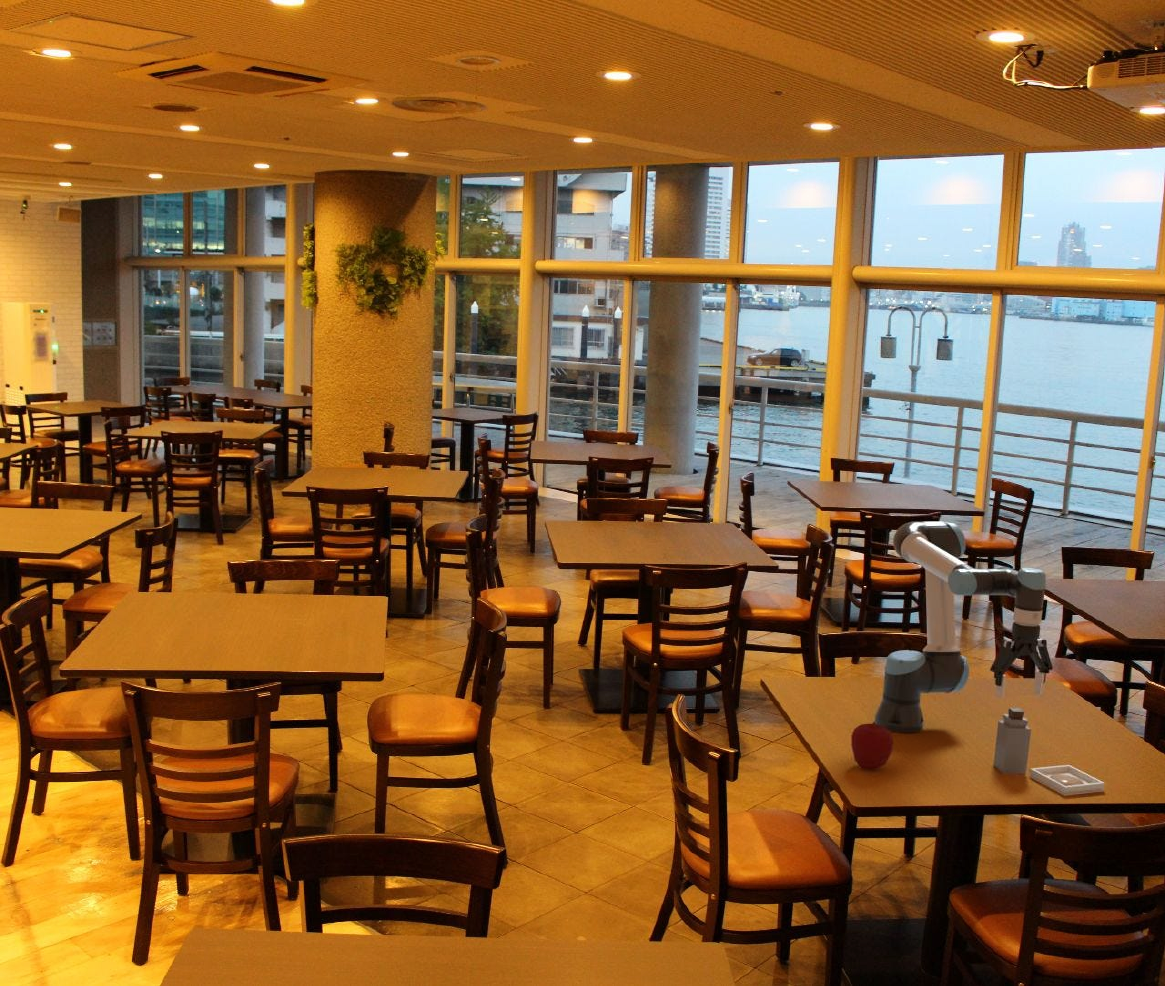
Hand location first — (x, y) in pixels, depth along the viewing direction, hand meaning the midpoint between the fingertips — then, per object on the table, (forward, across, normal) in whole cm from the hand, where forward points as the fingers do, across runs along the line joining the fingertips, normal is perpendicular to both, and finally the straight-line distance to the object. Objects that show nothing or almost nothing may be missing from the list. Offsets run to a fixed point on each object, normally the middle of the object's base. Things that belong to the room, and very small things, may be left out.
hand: (1018, 695), depth 354 cm
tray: (+22, +9, -13) cm, 27 cm away
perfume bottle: (+23, 0, 0) cm, 23 cm away
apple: (+22, -41, +10) cm, 48 cm away
